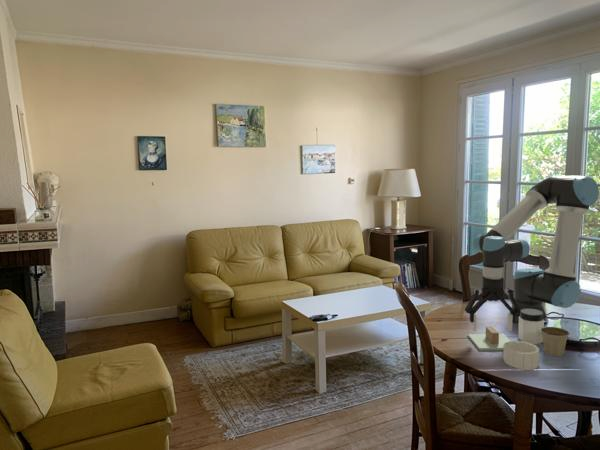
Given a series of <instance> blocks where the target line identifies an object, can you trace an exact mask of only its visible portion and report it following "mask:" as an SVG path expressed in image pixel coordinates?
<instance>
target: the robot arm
mask: <svg viewBox="0 0 600 450" xmlns="http://www.w3.org/2000/svg"><path fill="white" fill-rule="evenodd" d="M599 195H600V189H599V186H598V183H597V182H596V180H595V179H594V178H593V177H591V176H587V175H552V176H549V177H547V178H545V179H542V180H541V181H539V182H538V183H536V184H534V185H533V186H532V187H531V188H530V189H529V190H528V191H526V192H525V197H524V198H523V199H521V201H519V202H518V203H517V204H516V205H515V206H514V207H513V208H512V209H511V210H509V212H508V213H507V214H505V215H504V217H502V218H501V219H500V220H499V221H498V222H497V223H496V224H495V225H494V226H493V227H492V228H490V229H489V231H488V232H487V233H483V234H478V235H476V236H474V238H473V241H472V242H473V243H472V244H473V245H472V246H473V248H474V250H475V251H477V252H479V253H481V254H482V281H481V283H482V284H481V285H482V288H481V289H479V288H478V289H477V288H474V289H473V292H472V295H471V297H470V299H469V301H468V303H467V304H466V306H465V308H464V311H465V312H466V314H468V315H469V322H470V323H471V329H472V331H473V332H477V314H476V313H477V312H478V311H479V309H480V308H481V307H482V306H483V305H484V304H485V303H486V302H488V301H489V302H493V301H494V302H498V301H500V302H501V303H502V305H503V306H504V307H505V308H506V309H507V310H508V311H509V312H507V325H506V327H507V328H506V329H507V330H508V331H509V332H513V323H517V324H519V316H520V310H522V309H536V310H540V311H542V312H543V320H544V321H546V320H547V321H548V316H547V314H546V310H545V307H544V306H545V305H544V303H545V304H547V305H551V306H553V307H557V308H558V307H559V308H562V309H566V308H567V309H568V308H571V307H572V306H573V305H575V304H576V303H577V302H578V301H579V299H580V297H581V292H582V287H581V285H580V284H579V282H578V281H576V280H577V276H576V274H575V273H574V268H575V267H574V266H575V261H576V256H577V252H578V247H579V246H578V245H579V241H580V236H581V235H580V234H581V229H582V224H583V219H584V215H585V214H586V213H587V212H589V210H590V206H593V205H595V204H596V202H598V200H599ZM550 204H556V205H555V208H556V209H557V210H558V218H557V222H556V229H555V233H554V234H555V235H554V239H553V244H552V250H551V255H550V261H549V266H548V267H547V268H546V269H545V270H544V269H543V268H537V267H535V268H534V267H533V268H532V267H531V268H519V269H516V270H515V271H514V273H513V289H511V288H510V287H507V288H505V289H504V282H505V281H504V280H505V278H504V276H505V261H511V260H520V259H523V258H526V257H527V256H529V255H530V253H531V247H530V244H529V242H528V241H527V240H526V239H522V238H519V239H518V238H516V239H511V237H512V236H513V234H515V233H516V232H517V231H518V230H519V229H520V228H521V227H523V225H524V224H525V223H527V221H529V220H530V219H531V218H532V217H533V216H534V215H535V214H536V213H537V212H538V211H539V210H540V209H545V208H546V207H547V206H548V205H550ZM481 294H482V296H480V295H481ZM504 294H506V295H507V297H508V299H509V301H510V303H511V305H510V304H509V303H508V302H507V301H506V300H505V298H504V297H503V296H504ZM479 296H480V298H479V299H478V297H479ZM477 299H478V300H477Z"/></svg>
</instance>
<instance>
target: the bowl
mask: <svg viewBox="0 0 600 450" xmlns="http://www.w3.org/2000/svg"><path fill="white" fill-rule="evenodd" d="M502 355H503V362H504V363H505V364H506V365H508V366H509V367H512V368H515V369H517V370H519V371H528V372H529V371H535V370H536V369H538V367H539V365H540V348H539V347H538V346H537V344H531V343H528V342H522V341H521V340H510V342H506V343H505V344H504V351H503V354H502Z"/></svg>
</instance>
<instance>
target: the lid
mask: <svg viewBox="0 0 600 450" xmlns="http://www.w3.org/2000/svg"><path fill="white" fill-rule="evenodd" d="M467 336H468V337H469V338H470V339H471V341H472V342H473V343H474V344H475V346H476V347H477V348H478V349H479V351H478V352H501V351H500V350H504V344H505V343H506V342H510V341H511V339H510V338H509V337H508V336H507V335H505V334H504V333H499V331H497V329H496V328H495V327H494V326H491V325H490V326H489V325H488V326H485V333H469V334H467ZM468 337H467V338H468ZM471 341H470V342H471ZM472 342H471V343H472ZM475 346H474V347H475ZM476 347H475V348H476Z"/></svg>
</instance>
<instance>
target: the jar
mask: <svg viewBox="0 0 600 450" xmlns="http://www.w3.org/2000/svg"><path fill="white" fill-rule="evenodd" d="M543 327H545V324H544V320H543V312H542V311H540V310H536V309H522V310H520V316H519V323H518V335H517V336H518V339H519V341H522V342H528V343H531V344H533V345H538V344H543V337H542V334H541V332H540V329H541V328H543Z"/></svg>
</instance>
